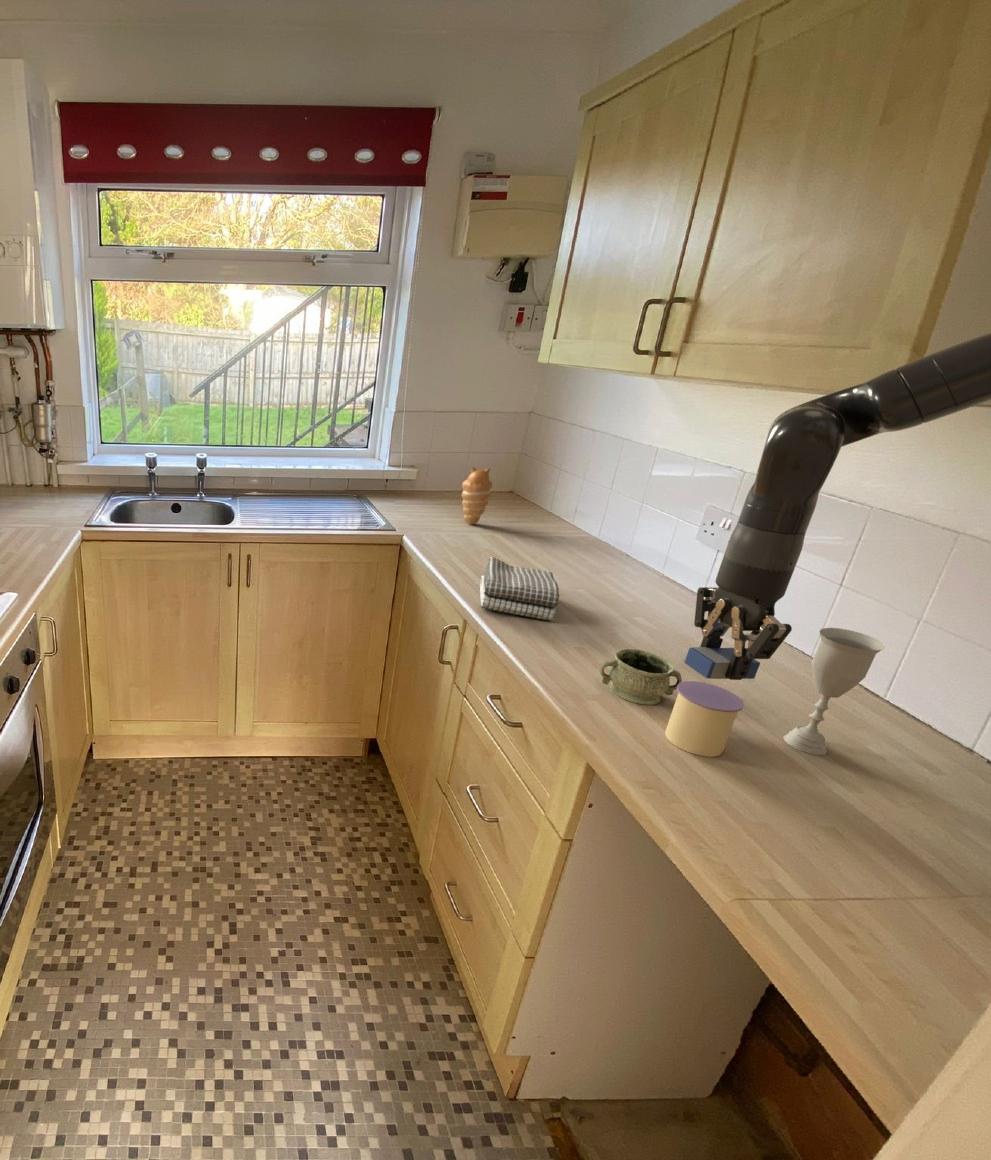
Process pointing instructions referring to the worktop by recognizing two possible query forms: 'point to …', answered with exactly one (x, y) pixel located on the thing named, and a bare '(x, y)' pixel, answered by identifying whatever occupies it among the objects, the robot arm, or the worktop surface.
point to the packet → (715, 662)
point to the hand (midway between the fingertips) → (719, 668)
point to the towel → (518, 590)
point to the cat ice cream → (476, 494)
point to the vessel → (640, 676)
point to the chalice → (834, 679)
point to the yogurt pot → (702, 718)
